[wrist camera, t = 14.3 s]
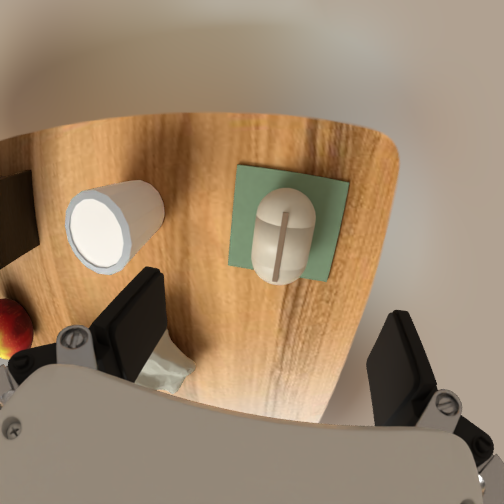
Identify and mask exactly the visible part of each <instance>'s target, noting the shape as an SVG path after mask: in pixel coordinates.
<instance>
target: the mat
mask: <svg viewBox="0 0 504 504" xmlns="http://www.w3.org/2000/svg"><path fill="white" fill-rule="evenodd" d="M348 187H349V182H345V181H340V180H335V179H330V178H325V177H319V176H314V175H308V174H302V173H296V172H290V171H283V170H277V169H270V168H263V167H255V166H248V165H239V164H238V165H237V173H236V183H235V193H234V203H233V214H232V225H231V236H230V247H229V259H228V265H230V266H236V267H241V268H247V269H253V270H254V268H253V265H252V260H251V252H252V244H253V236H254V228H255V220H256V213H257V209H258V206H259V204H260V202H261V200H262V199H263V198H264V197H265V196H266V195H267V194H268V193H270V192H272V191H273V190H276V189H279V188H292V189H295V190H298V191H300V192H302V193H303V194H305V195H306V196H307V197H308V198H309V200H310V201H311V203H312V204H313V207H314V210H315V214H316V221H315V228H314V233H313V238H312V243H311V247H310V252H309V257H308V262H307V265H306V268H305V270H304V272H303V273H302V275H301V276H300V278H306V279H312V280H318V281H324V282H327V279H328V275H329V271H330V268H331V264H332V260H333V256H334V252H335V247H336V243H337V239H338V235H339V230H340V226H341V221H342V217H343V212H344V207H345V202H346V197H347V192H348Z"/></svg>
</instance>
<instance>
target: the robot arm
mask: <svg viewBox="0 0 504 504" xmlns="http://www.w3.org/2000/svg"><path fill="white" fill-rule="evenodd" d="M166 328H167V314H166V302H165V288H164V275H163V273H160V270H159V269H157V268H152V267H145V268H144V269H143V270H142V271H141V272H140V273H139V274H138V275H137V276H136V277H135V278H134V279H133V280H132V281H131V282H130V283H129V284H128V285H127V286H126V287H125V288H124V289H123V290H122V291H121V292H120V293H119V295H118V296H117V297H116V298H115V299H114V300H113V301H112V302H111V303H110V304H109V305H108V306H107V307H106V309H105V310H104V311H103V312H102V313H101V314H100V315H99V316H98V317H97V318H96V320H95V321H94V322H93V323H92V325H91V326H90V327H89V328H87V327H85V326H83V325H71V326H68V327H66V328H64V329H63V330H62V331H61V332H60V333H59V334H58V336H57V340H56V343H52V344H48V345H43V346H39V347H34V348H29V349H25V350H21V351H18V352H16V353H15V354H13V355H12V357H11V358H10V360H9V362H8V366H6V367H5V365H4V364H3V365H1V366H0V504H504V463H503V461H502V460H501V459H500V457H499V456H498V455H497V454H495V455H493V450H494V445H493V442H492V439H491V438H490V436H489V435H488V434H486V433H485V432H484V431H482V430H481V429H480V428H478V427H477V426H475V425H474V424H473V423H471V422H470V421H469V420H467V419H466V418H464V417H463V416H462V415H461V412H462V403H461V401H460V399H459V397H458V396H457V395H456V394H455V393H453V392H452V391H450V390H445V389H441V390H437V386H436V385H437V383H436V380H435V377H434V374H433V372H432V369H431V366H430V363H429V361H428V358H427V356H426V353H425V350H424V348H423V345H422V343H421V340H420V338H419V336H418V333H417V331H416V328H415V326H414V324H413V322H412V319H411V317H410V315H409V313H408V312H407V311H401V310H394V311H393V313H389V315H388V317H387V319H386V321H385V323H384V326H383V328H382V330H381V332H380V334H379V337H378V339H377V341H376V343H375V345H374V347H373V349H372V351H371V353H370V355H369V357H368V359H367V363H366V367H367V373H368V379H369V385H370V392H371V399H372V406H373V414H374V421H375V426H350V425H349V426H348V425H332V424H320V423H309V422H300V421H292V420H284V419H277V418H271V417H264V416H258V415H253V414H247V413H242V412H237V411H232V410H228V409H223V408H219V407H214V406H210V405H206V404H202V403H198V402H194V401H191V400H187V399H183V398H180V397H176V396H173V395H170V394H166V393H163V392H160V391H157V390H154V389H151V388H147V387H144V386H141V385H138V384H135V381H136V379H137V377H138V376H139V374H140V372H141V371H142V369H143V367H144V366H145V364H146V362H147V361H148V359H149V357H150V356H151V354H152V352H153V351H154V349H155V347H156V346H157V344H158V342H159V341H160V339H161V337H162V336H163V334H164V333H165V331H166Z"/></svg>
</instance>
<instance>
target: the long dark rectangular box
mask: <svg viewBox="0 0 504 504" xmlns="http://www.w3.org/2000/svg"><path fill="white" fill-rule="evenodd" d="M38 245H40V243H39V237H38V231H37V224H36V217H35V209H34V200H33V189H32V174H31V170H26V171H22V172H19V173H16V174H13V175H10V176H1V177H0V269H2V268H3V267H5V266H6V265H8V264H9V263H11V262H13V261H14V260H16V259H17V258H19V257H20V256H22V255H24V254H25V253H27V252H28V251H30V250H32V249H33V248H35V247H37V246H38Z"/></svg>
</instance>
